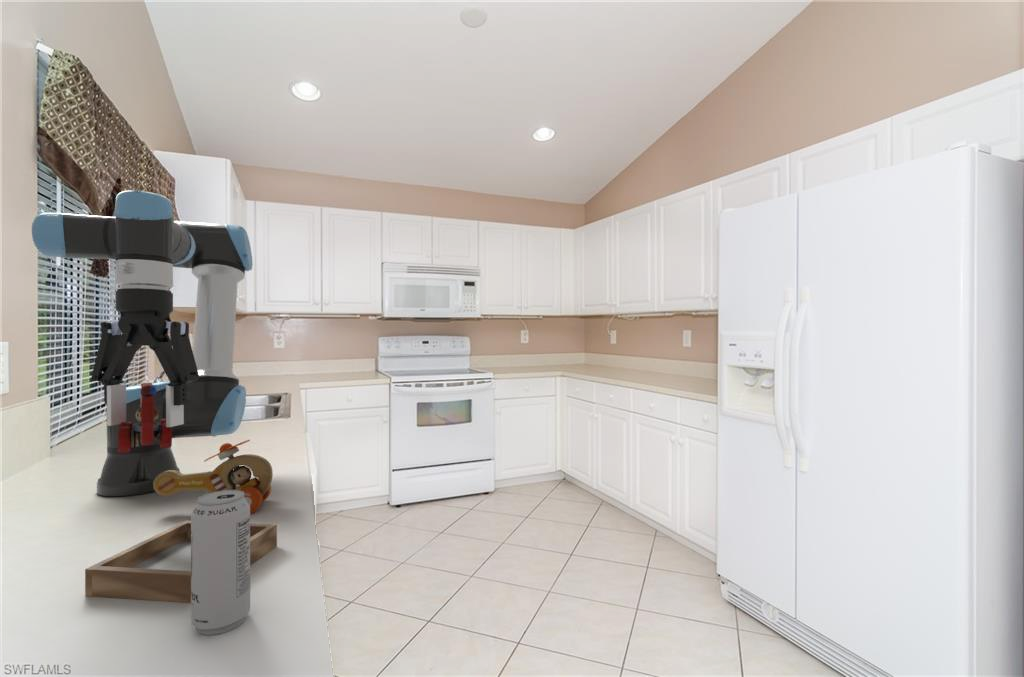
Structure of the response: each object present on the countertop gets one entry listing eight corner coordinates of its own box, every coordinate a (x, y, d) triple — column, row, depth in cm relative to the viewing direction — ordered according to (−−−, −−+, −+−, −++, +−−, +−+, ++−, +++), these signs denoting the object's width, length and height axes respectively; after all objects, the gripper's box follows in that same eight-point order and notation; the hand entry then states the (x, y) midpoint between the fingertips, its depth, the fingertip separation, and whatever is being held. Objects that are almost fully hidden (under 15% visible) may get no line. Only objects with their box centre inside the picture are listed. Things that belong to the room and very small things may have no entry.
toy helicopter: (266, 513, 94) (265, 442, 94) (143, 522, 89) (143, 447, 89) (277, 499, 102) (277, 433, 102) (165, 507, 97) (164, 438, 97)
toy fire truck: (116, 458, 73) (116, 388, 73) (120, 443, 83) (120, 382, 83) (173, 451, 77) (172, 385, 77) (170, 438, 87) (170, 380, 87)
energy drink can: (200, 613, 60) (199, 491, 60) (254, 604, 62) (254, 486, 62) (183, 642, 54) (183, 507, 54) (244, 632, 56) (244, 501, 56)
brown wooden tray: (186, 541, 81) (186, 520, 81) (276, 546, 79) (276, 524, 79) (85, 595, 64) (85, 569, 64) (197, 603, 62) (197, 575, 62)
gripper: (60, 287, 77) (61, 427, 77) (190, 285, 75) (190, 430, 75) (105, 291, 85) (105, 419, 85) (224, 290, 82) (225, 422, 82)
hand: (145, 424), depth 80 cm, fingers closed on toy fire truck, 10 cm apart
